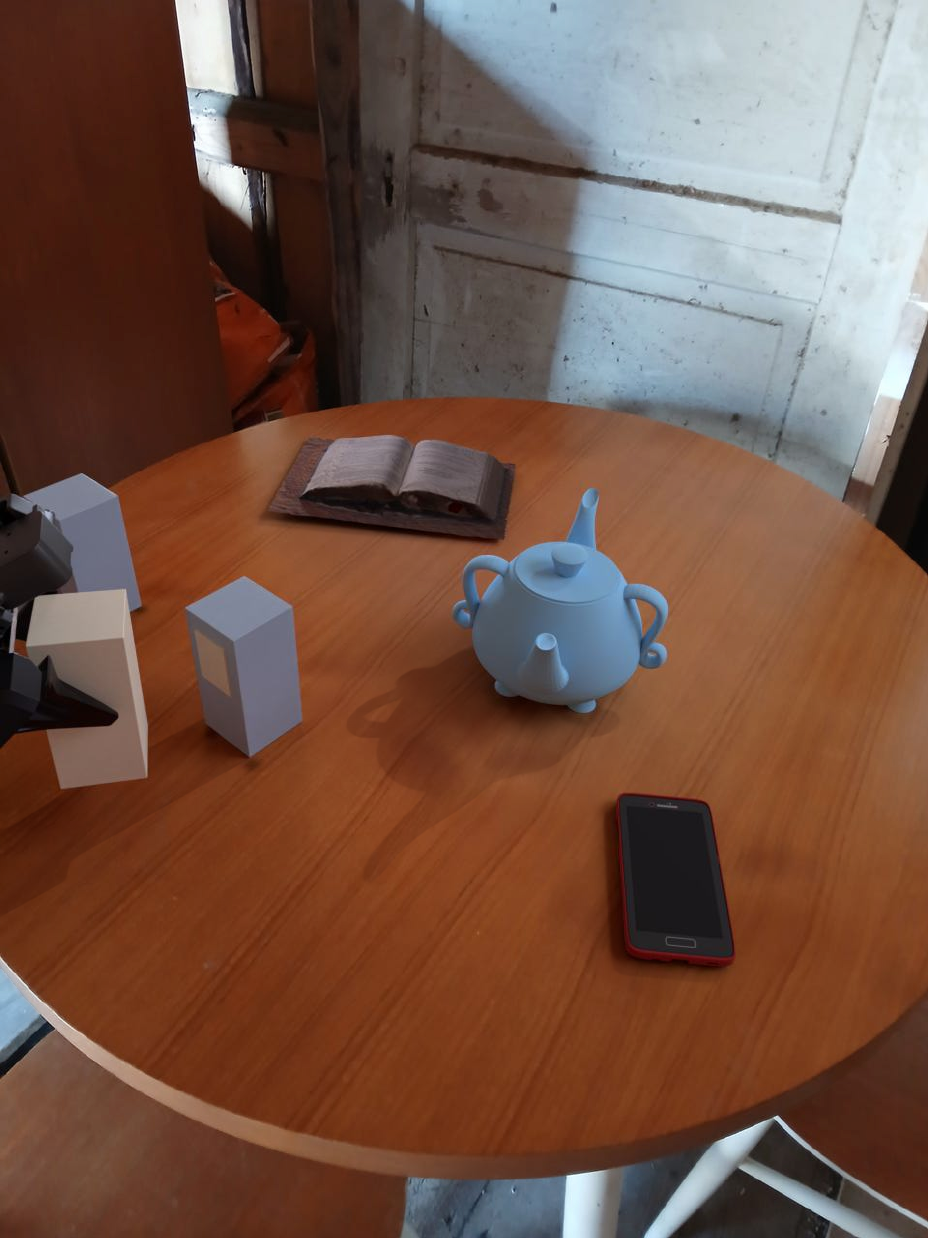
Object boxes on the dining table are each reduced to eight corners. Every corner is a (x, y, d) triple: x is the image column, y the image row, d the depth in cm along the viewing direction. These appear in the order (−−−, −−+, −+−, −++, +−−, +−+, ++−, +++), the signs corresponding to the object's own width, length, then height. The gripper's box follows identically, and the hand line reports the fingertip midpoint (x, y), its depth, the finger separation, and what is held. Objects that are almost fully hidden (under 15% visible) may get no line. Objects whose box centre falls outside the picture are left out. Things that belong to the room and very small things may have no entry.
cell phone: (625, 959, 64) (627, 952, 63) (614, 798, 75) (616, 790, 75) (735, 970, 63) (738, 963, 63) (707, 806, 75) (710, 799, 74)
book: (504, 546, 104) (508, 512, 101) (265, 516, 105) (264, 481, 103) (515, 472, 120) (519, 440, 118) (308, 446, 122) (308, 414, 119)
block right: (247, 759, 77) (230, 642, 68) (203, 724, 79) (182, 608, 71) (302, 721, 80) (292, 606, 72) (258, 689, 83) (244, 575, 75)
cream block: (57, 790, 66) (21, 646, 58) (64, 735, 70) (31, 595, 63) (147, 778, 67) (123, 637, 60) (147, 725, 72) (125, 588, 65)
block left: (87, 634, 88) (56, 521, 80) (53, 608, 91) (20, 496, 83) (142, 606, 92) (118, 495, 84) (108, 581, 95) (81, 472, 87)
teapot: (577, 598, 97) (595, 483, 88) (682, 718, 83) (716, 597, 74) (437, 632, 91) (442, 514, 82) (525, 768, 77) (542, 643, 69)
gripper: (-52, 584, 46) (197, 703, 56) (-19, 421, 60) (176, 540, 70) (-170, 720, 49) (87, 811, 59) (-113, 535, 63) (88, 633, 73)
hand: (114, 686), depth 65 cm, fingers closed on cream block, 7 cm apart
